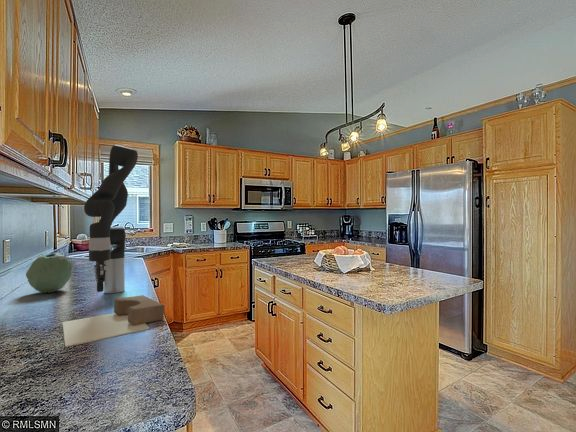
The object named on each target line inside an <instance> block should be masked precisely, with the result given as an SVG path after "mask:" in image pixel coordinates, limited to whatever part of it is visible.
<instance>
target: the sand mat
mask: <svg viewBox="0 0 576 432" xmlns="http://www.w3.org/2000/svg"><path fill="white" fill-rule="evenodd" d="M146 330H150V327H149V326H148V325H147V323H143V324H138V325H132V324H130V323H129V322H128V315H117V314H116V313H114V312H112V313H107V314H102V315H96V316H91V317H90V316H89V317H85V318H80V319H74V320H68V321H62V333H63V339H64V340H63V341H64V348H68V347H73V345H74V346H77V345H78V346H79V345H82V344H87V343H91V342H96V341H102V340H105V339H111V338H115V337H119V336H123V335H128V334H132V333H137V332H143V331H146Z"/></svg>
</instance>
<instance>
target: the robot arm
mask: <svg viewBox="0 0 576 432" xmlns="http://www.w3.org/2000/svg"><path fill="white" fill-rule="evenodd" d="M109 151H110V153H109V161H108V175H107V176H105V178H104V179H103V180H102V181H101V184H100V185H99V187H98V189H97V191H95V192H94V193H92V195H91V196H89V197H88V198H87V200H86V201H85V203H84V205H83V211H84V214H85V215H86V216H88V217H91V218H100V219H99V221H97V222H94V223H93V222H92V223H91V224H90V225H89V241H88V260H89V262H95V264H94V265H93V270H94V277H95V282H96V292H97V293H101V292H103V293H104V294H115V293H116V294H118V293H122V292H125V290H126V289H125V288H126V287H125V280H126V279H125V278H126V277H125V276H126V273H125V272H126V271H125V269H126V268H125V267H126V266H125V253H126V251H125V250H126V249H125V248H126V247H125V246H126V230H125V228H124V227H123V226H113V225H112V224H113V223H114V220H115V219H116V218H117V217H118V216H119V215H120V214H121V213H122V212H123V210H124V209H125V208H126V206H127V204H128V196H129V192H128V189H127V187H126V184H125V183H124V182H125V180H126V179H127V178H128V176H129V175H130V174H131V172H132V171H133V169H134V168H135V167H136V165H137V162H138V156H139V154H138V151H137V150H136V149H133V148H130V147H127V146H122V145H119V144H113V145H112V146H111V148H110V150H109ZM119 167H121V168H119ZM111 246H115V247H114V248H111Z"/></svg>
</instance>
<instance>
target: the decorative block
mask: <svg viewBox="0 0 576 432" xmlns="http://www.w3.org/2000/svg"><path fill="white" fill-rule="evenodd" d="M113 303H114V307H113V313H116V314H117V315H128V322H129V323H130V324H132V325H138V324H143V323H145V324H147V323H153V322H158V321H163V320H164V318H165V305H164V304H163V303H160V302H158V301H156V300H154V299H151V298H150V297H148V296H145V295H135V296H128V297H127V296H126V297H118V298H115V299H114V302H113Z"/></svg>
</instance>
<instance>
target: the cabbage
mask: <svg viewBox="0 0 576 432" xmlns="http://www.w3.org/2000/svg"><path fill="white" fill-rule="evenodd" d="M72 267H73V261H72V260H69V257H68V256H66V255H64V254H63V253H62V252H58V251H57V252H56V253H50V254H41V255H40V256H38V257H37V258H36V259H34V260H33V261H32V263H31V264H30V266H29V268H28V269H27V270H26V273H25V276H26V279H27V283H28V284H29V285H30V287H32V288H33V289H34V290H35V291H37V292H39V293H44V294H47V292H48V294H49V293H50V292H51V293H54V292H57V291H59V290H61V289H62V288H64V287H65V285H66V284H68V282H69V281H70V279H71V277H72V275H73V273H72V269H73V268H72Z"/></svg>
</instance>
